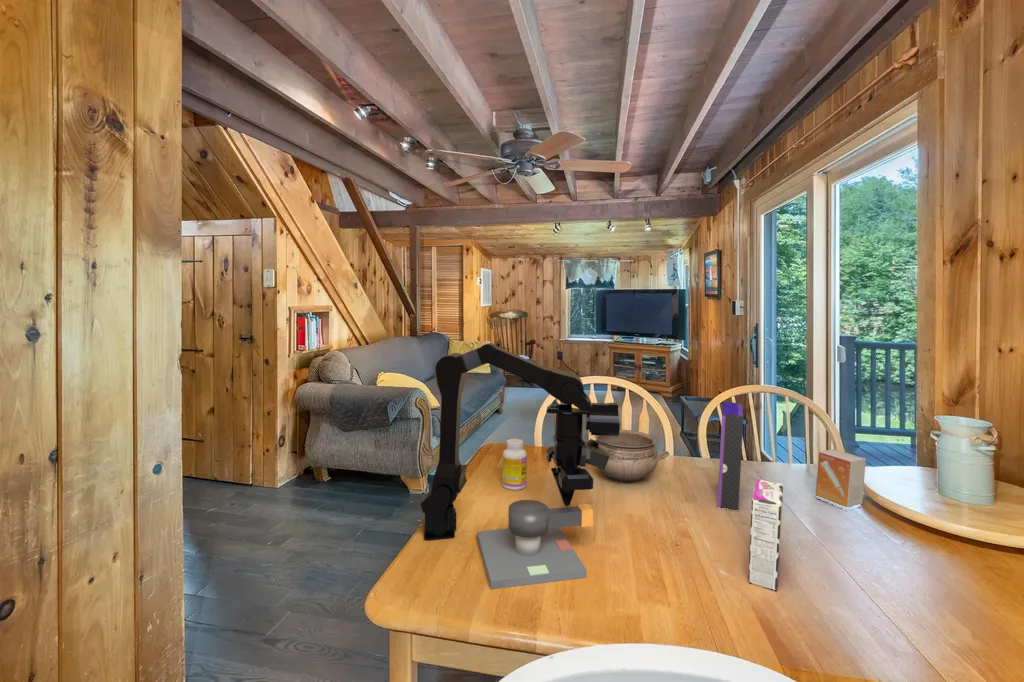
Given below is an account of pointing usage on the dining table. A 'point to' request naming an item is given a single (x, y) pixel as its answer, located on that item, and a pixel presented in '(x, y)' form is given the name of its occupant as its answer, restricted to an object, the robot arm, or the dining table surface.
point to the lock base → (528, 558)
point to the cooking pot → (630, 455)
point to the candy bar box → (765, 533)
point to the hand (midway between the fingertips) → (566, 505)
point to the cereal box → (730, 456)
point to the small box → (840, 477)
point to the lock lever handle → (545, 518)
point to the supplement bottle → (514, 465)
